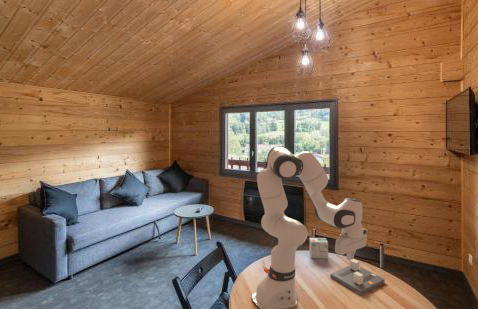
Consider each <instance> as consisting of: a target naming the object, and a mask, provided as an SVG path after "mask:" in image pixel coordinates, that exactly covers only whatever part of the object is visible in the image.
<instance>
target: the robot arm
mask: <svg viewBox="0 0 478 309" xmlns="http://www.w3.org/2000/svg"><path fill="white" fill-rule="evenodd" d="M265 167H266V168H264V169H262V170H260V171H259V172H258V173H257V175H256V182H257V188H258V194H259V196H260V200H261V203H262V206H263V210H264V215H262V217H261V219H260V220H261V221H260V224H261V227H262V229H263V230H264V231H265V232H266V233H268V235H270V236H272V237H274V238H277V240H278V244H276V245H275V246H273V248H272V249H271V252H270V259H271V261H270V265H269V268H268V267H265V268H264V269H263V271H264V273H266V275H265V277H264V278H263V279H262V280H261V281H260V282H259V283H258V284H257V287H256V291H255V292H254V293H252V294H251V297H252V298H251V300H253V301H254V303H255V304H256V305H257V306H258V307H259V308H260V309H291V308H294V307H297V306H298V301H297V300H298V297H299V296H298V293H297V288H296V279H295V277H296V266H295V263H296V262H295V261H296V258H295V257H296V252H297V249H298V248H299V247H300V246H302V245H303V244H304V243H305V242H306V240H307V238H308V229H307V227H306V225H304V224H303V223H301V222H300V221H299V220H297V219H294V218H291V217H290V216H289V217H288V216H287V215H286V214H285V211H286V209H287V208H288V203H289V202H288V199H287V195H286V192H285V189H284V186H283V181H282V180H291V179H294V178H296V177H299V179H300V180H301V182H302V184H303V185H304V189H305V190H306V194H307V195H308V197H309V199H310V201H311V203H312V205H313V209H314V214H315V217H316V218H317V219H318V220H319V221H321V222H324V223H327V224H328V225H331V226H333V227H335V228H338V229H341V234H339V235H338V236H337V237H336V240H335V246H334V252H335V253H336V254H338V255H339V256H343V255H346V259H347V260H349V261H350V260H352V259H354V258H355V254H356V253H357V252H356V251H357V250H360V249H362V248H365V247H366V245H367V242H368V238H367V237H368V236H367V234H368V232H369V231H368V229H367V228H364V227H363V225H362V220H363V212H364V210H363V204H362V202H361V201H360V200H359V199H355V198H351V197H346V198H344V200H343V201H342V202H341V203H340V204H338V205H336V204H333V203H332V202H329V201H328V200H326V199H325V197H324V195H323V193H322V191H323V190H324V189H325V188H326V187H327V185H328V182H329V176H328V174H327V172H326V170H325V169H324V167H323V166H322V164H321V163H320V161H319V160H318V158H317V157H316V156H315V155H314V154H313V153H312V152H311V151H302V152H299V153H298V154H293V153H292V152H291V151H290V150H289V149H288V148H286V147H285V146H280V145H277V146H273V147H271V149H270V150H269V151H268V153H267V156H266V162H265ZM254 298H255V299H254ZM253 301H252V302H253ZM254 303H253V304H254ZM255 304H254V305H255ZM256 305H255V306H256ZM257 306H256V307H257ZM258 307H257V308H258ZM259 308H258V309H259Z"/></svg>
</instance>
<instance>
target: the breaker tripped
mask: <svg viewBox="0 0 478 309" xmlns="http://www.w3.org/2000/svg"><path fill="white" fill-rule="evenodd" d="M353 282H355V283H357V284H358V285H361V284H363V274H361V273H359V272H355V273H353Z"/></svg>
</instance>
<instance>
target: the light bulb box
mask: <svg viewBox="0 0 478 309" xmlns="http://www.w3.org/2000/svg"><path fill="white" fill-rule="evenodd" d="M308 239H309V249H308V251H309V252H308V253H309V256H310V258H311V259H329V241H328V239H327V238H326V237H309V238H308Z"/></svg>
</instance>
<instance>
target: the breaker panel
mask: <svg viewBox="0 0 478 309" xmlns="http://www.w3.org/2000/svg"><path fill="white" fill-rule="evenodd" d="M355 272H359V273H361V274H363V284H361V285H358V284H357V283H355V282H353V273H355ZM329 276H330V278H331V279H333V280H334V281H336V282H338V283H339V284H341V285H343V286H345V287H346V288H348V289H350V290H351V291H353V292H355V293H356V294H358V295H359V296H362V295H364V294H366V293H368V292H369V291H372V290H373V289H376V288H377V287H379V286H381V285H382V283H383V284H385V283H384V282H386V280H385V278H384V277H382V276H380V275H378V274H375V273H373V272H372V271H369V270H368V269H365V268H363V267H361V266H359V270H357V271H355V270H353V269H351V268H350V265H348V266H346V267H343V268H340V269H338V270H336V271H334V272H331V273H330V275H329ZM380 284H381V285H380Z"/></svg>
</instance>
